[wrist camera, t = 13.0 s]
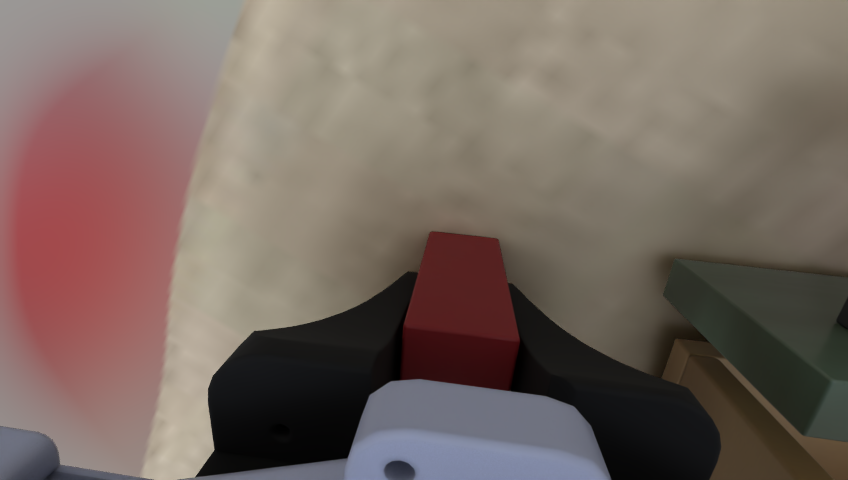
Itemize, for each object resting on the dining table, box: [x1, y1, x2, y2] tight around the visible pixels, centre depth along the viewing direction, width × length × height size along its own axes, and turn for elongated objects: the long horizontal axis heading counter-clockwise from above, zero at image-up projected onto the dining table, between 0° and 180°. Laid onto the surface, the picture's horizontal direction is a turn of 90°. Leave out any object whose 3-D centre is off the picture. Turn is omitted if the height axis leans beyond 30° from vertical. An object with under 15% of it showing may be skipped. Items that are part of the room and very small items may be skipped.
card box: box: [399, 232, 520, 391], centre depth 11 cm, size 5×2×6 cm, turn 176°
